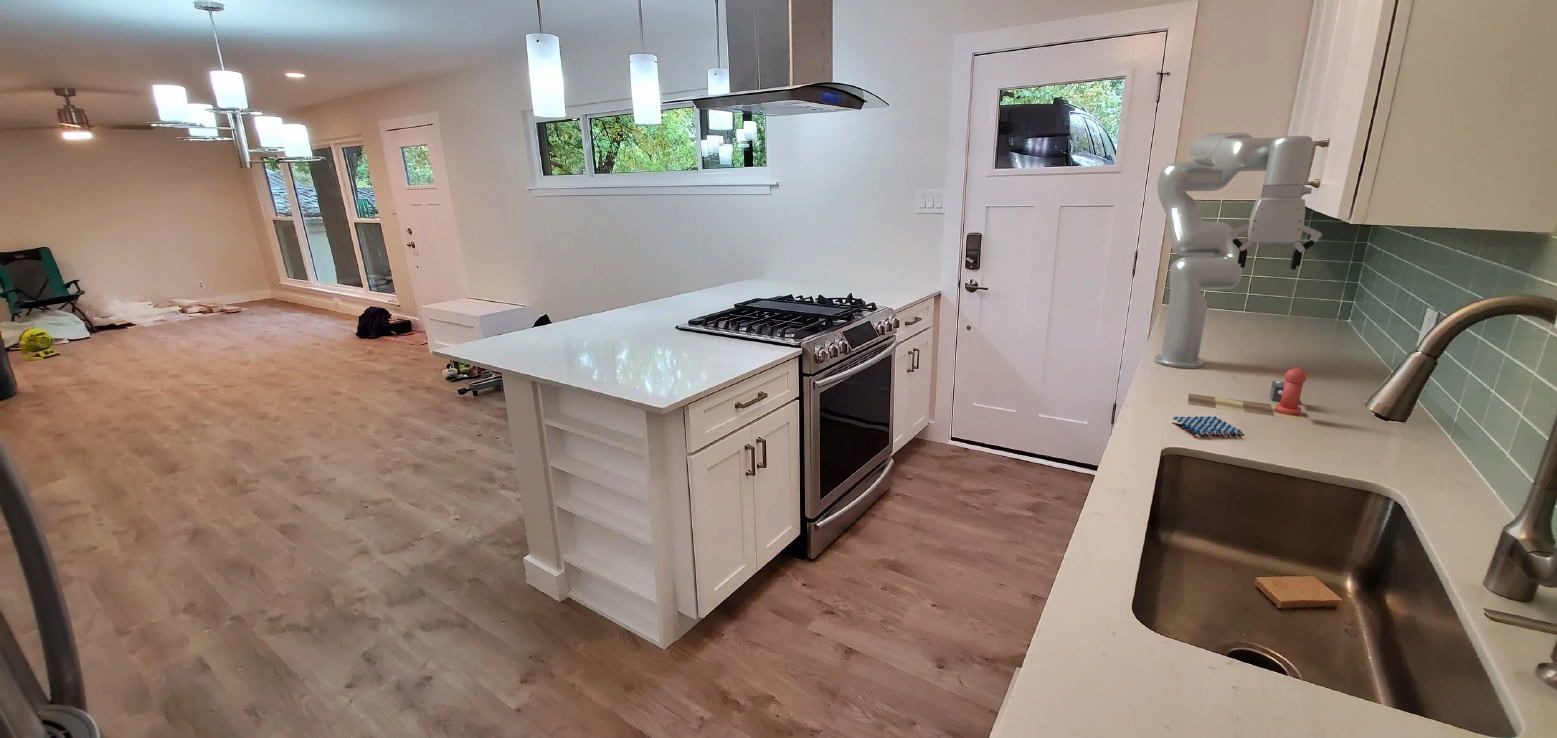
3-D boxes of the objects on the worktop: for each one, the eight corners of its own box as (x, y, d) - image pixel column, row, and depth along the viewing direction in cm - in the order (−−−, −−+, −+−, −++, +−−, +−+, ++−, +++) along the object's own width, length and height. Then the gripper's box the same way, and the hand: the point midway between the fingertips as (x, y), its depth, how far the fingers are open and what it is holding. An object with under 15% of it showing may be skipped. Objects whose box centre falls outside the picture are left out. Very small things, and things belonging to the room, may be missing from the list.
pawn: (1274, 406, 147) (1283, 364, 144) (1299, 410, 145) (1309, 367, 142) (1275, 413, 144) (1285, 370, 141) (1301, 416, 141) (1311, 373, 138)
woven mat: (1246, 441, 133) (1248, 432, 133) (1195, 441, 134) (1196, 432, 133) (1214, 423, 143) (1216, 414, 143) (1167, 423, 144) (1168, 415, 143)
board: (1187, 398, 158) (1188, 393, 158) (1298, 412, 147) (1300, 408, 147) (1187, 408, 151) (1188, 404, 151) (1304, 425, 140) (1305, 420, 139)
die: (1268, 400, 156) (1272, 380, 155) (1294, 403, 154) (1298, 383, 152) (1270, 406, 152) (1275, 386, 150) (1297, 409, 149) (1301, 389, 148)
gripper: (1327, 192, 143) (1311, 268, 148) (1234, 193, 152) (1222, 264, 157) (1333, 193, 137) (1316, 272, 142) (1236, 194, 146) (1223, 268, 151)
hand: (1267, 268), depth 149 cm, fingers open, 9 cm apart
